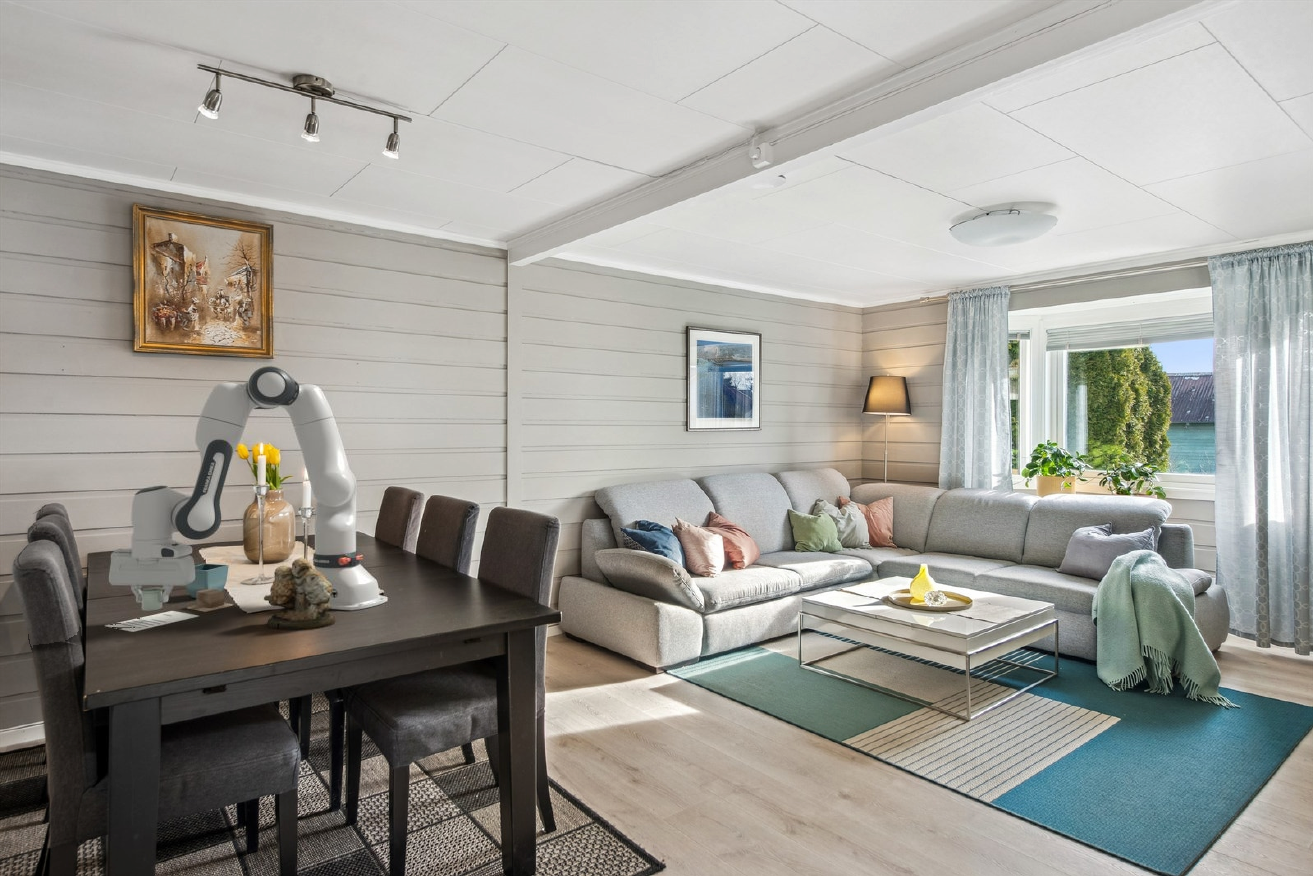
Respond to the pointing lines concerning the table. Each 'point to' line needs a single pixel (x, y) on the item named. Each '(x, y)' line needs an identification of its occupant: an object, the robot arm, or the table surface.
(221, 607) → the coaster
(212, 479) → the robot arm
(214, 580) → the flower pot
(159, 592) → the jar
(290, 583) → the owl figurine
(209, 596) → the walnut block
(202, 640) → the table surface
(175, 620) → the letter
